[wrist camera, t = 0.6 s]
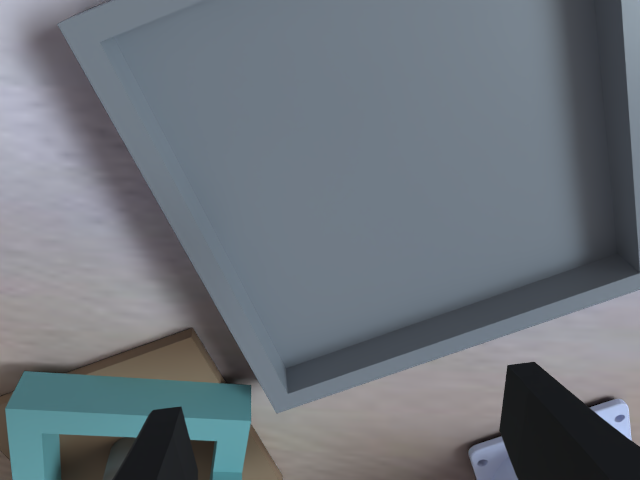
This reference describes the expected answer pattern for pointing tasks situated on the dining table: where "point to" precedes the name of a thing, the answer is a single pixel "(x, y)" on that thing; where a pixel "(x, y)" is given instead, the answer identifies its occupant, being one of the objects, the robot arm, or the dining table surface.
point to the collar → (120, 417)
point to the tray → (380, 167)
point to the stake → (109, 452)
